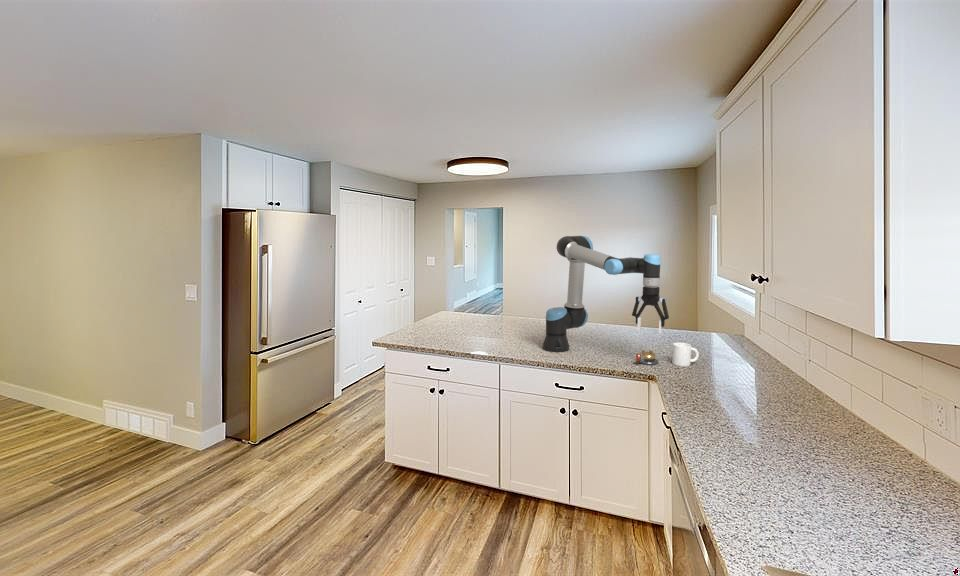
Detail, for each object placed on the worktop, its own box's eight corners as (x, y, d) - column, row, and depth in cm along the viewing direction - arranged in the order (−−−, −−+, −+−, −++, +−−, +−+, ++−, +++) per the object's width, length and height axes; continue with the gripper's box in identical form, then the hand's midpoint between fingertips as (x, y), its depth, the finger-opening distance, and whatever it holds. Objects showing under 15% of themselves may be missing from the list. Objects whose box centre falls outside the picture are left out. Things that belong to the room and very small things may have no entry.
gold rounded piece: (646, 356, 218) (646, 349, 218) (658, 359, 212) (658, 352, 212) (630, 360, 212) (631, 352, 211) (642, 363, 206) (643, 356, 205)
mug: (696, 363, 211) (697, 343, 210) (700, 368, 203) (701, 347, 202) (670, 361, 214) (671, 342, 212) (674, 366, 206) (675, 346, 204)
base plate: (633, 362, 214) (633, 359, 214) (642, 358, 220) (643, 355, 220) (652, 366, 206) (652, 363, 206) (661, 362, 213) (661, 359, 213)
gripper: (625, 285, 205) (624, 330, 208) (673, 288, 192) (671, 336, 194) (630, 284, 211) (629, 327, 214) (677, 286, 198) (675, 333, 200)
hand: (649, 331), depth 204 cm, fingers open, 9 cm apart
